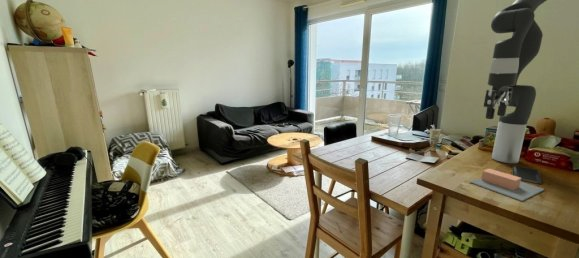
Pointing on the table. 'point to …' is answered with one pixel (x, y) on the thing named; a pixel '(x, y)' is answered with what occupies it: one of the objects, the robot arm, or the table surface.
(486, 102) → the robot arm
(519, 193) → the mat
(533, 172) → the phone
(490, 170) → the block
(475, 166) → the table surface
